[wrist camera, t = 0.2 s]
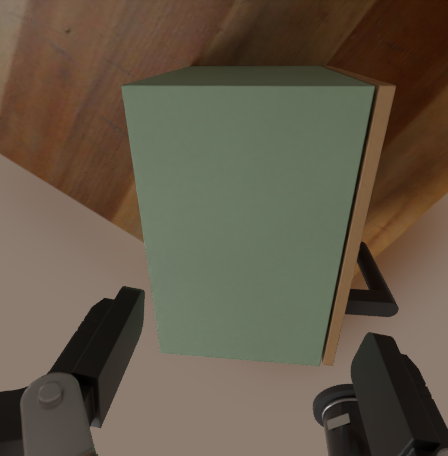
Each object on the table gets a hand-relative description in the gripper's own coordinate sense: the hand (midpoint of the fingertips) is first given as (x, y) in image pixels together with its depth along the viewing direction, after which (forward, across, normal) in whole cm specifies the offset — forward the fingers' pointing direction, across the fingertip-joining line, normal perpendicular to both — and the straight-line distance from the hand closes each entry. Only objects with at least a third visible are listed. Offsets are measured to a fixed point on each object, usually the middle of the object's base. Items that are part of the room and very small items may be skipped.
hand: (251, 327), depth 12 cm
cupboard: (+28, 0, -3) cm, 28 cm away
